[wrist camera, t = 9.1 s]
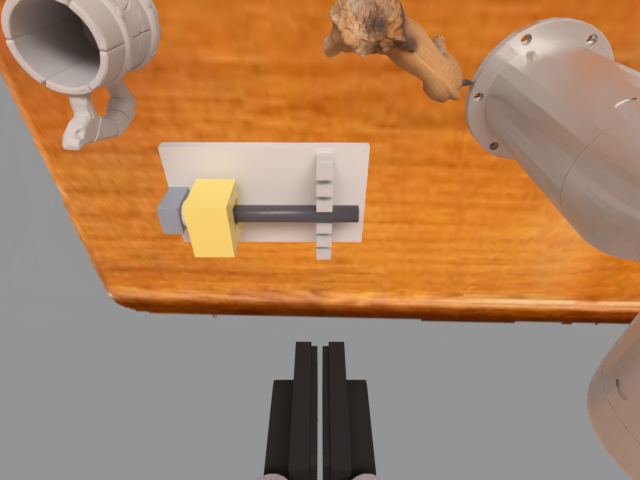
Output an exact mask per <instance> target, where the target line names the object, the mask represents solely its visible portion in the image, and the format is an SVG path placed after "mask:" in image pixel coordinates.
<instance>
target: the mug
mask: <svg viewBox="0 0 640 480" xmlns="http://www.w3.org/2000/svg"><path fill="white" fill-rule="evenodd" d="M1 24H2V30H3V32H4V35H5V37H6V38H8V39H7V40H6V44H7V46H8V48H9V50H10V52H11V54H12V55H13V57H14V58H15V60H16V61H17V62H18V63H19V64H20V66H21V67H22V68H23V69H24V70H25V71H26V72H27V73H28V74H29V75H30V76H31V77H32V78H34V79H35V80H36V81H38V82H39V83H41V84H46V87H48V88H50V89H52V90H54V91H57V92H60V93H63V94H68V96H69V100H70V104H71V107H72V109H73V112H74V117H73V119H71V120H70V122H69V123H68V126H67V128H66V130H65V132H64V134H63V141H62V144H63V148H64V149H65V150H80V149H81V148H82V147H83V146H84V145H86V144H88V143H93V142H96V141H101V140H107V139H111V138H113V137H118V136H120V135H121V134H122V133H123V132H124V131H125V130H126V129H127V128H128V125H130V123H131V122H132V120H133V118H134V115H135V110H134V108H135V105H136V99H135V97H134V96H133V95H132V94H131V93H130V91H129V90H128V88H127V86H126V85H125V83H124V80H123V77H124V76H125V74H126V73H128V72H133V71H136V70H138V69H140V68H142V67H144V66H145V65H146V64H148V63H149V62H150V61H151V59H152V58H153V57H154V56H155V54H156V51H157V49H158V45H159V41H160V34H161V27H160V25H159V21H158V12H157V9H156V7H155V5H154V3H153V1H152V0H7V1H6V2H5V4H4V7H3V10H2V15H1ZM101 87H106V88H107V90H108V92H109V94H110V97H111V98H110V99H108V105H107V109H106V115H104V116H103V117H100V116H99V115H97V114H96V112H95V109H94V106H93V102H92V98H91V94H90V92H92V91H94V90H96V89H98V88H101Z"/></svg>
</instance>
